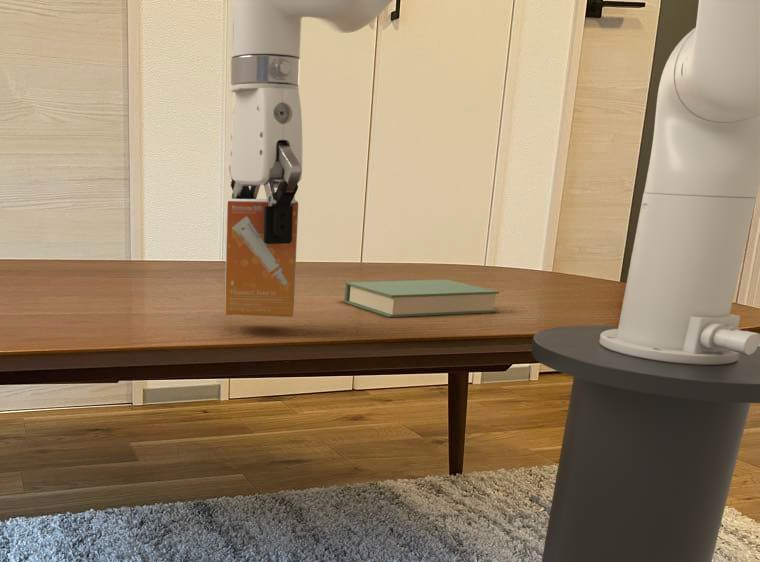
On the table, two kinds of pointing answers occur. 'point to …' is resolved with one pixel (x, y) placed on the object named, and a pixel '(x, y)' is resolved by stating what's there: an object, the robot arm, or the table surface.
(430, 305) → the book
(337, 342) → the table surface
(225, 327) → the table surface
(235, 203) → the small box
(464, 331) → the table surface
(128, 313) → the table surface
